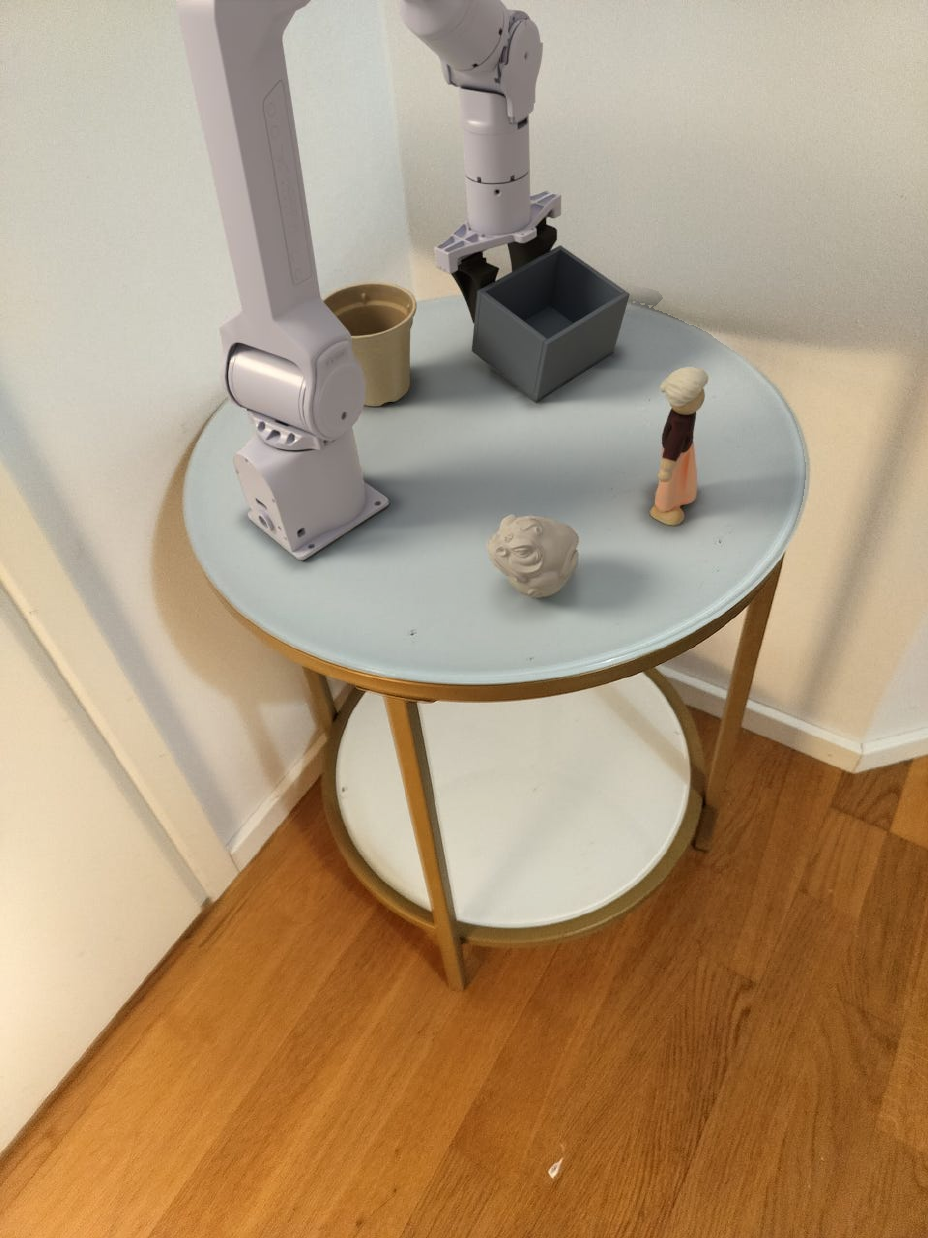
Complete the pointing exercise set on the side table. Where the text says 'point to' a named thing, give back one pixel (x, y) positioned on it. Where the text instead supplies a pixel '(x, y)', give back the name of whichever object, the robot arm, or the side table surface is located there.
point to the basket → (548, 322)
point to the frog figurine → (534, 553)
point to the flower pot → (378, 335)
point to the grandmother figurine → (679, 444)
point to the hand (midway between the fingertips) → (503, 312)
